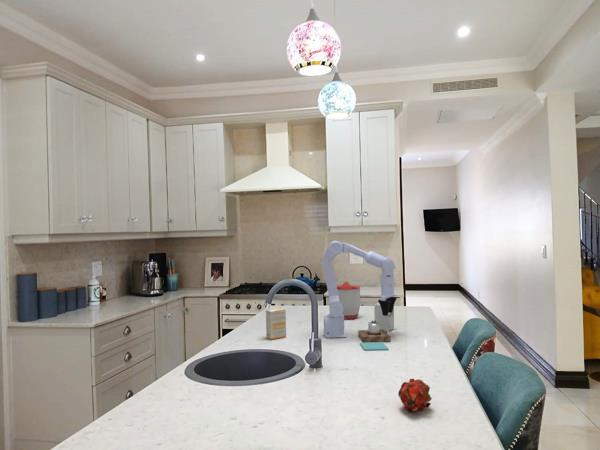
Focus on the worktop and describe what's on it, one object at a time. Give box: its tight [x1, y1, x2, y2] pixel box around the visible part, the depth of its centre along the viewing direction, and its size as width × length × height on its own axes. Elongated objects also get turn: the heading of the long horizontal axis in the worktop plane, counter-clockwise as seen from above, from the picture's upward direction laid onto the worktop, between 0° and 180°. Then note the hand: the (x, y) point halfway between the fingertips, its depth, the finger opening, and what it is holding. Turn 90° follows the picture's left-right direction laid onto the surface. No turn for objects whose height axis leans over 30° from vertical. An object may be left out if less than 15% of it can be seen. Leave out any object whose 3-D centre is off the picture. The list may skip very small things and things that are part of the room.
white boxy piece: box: [373, 302, 395, 333], centre depth 211 cm, size 7×7×13 cm
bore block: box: [357, 329, 392, 343], centre depth 193 cm, size 12×12×2 cm
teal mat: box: [359, 342, 389, 352], centre depth 180 cm, size 10×10×1 cm
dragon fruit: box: [398, 378, 432, 413], centre depth 119 cm, size 8×8×12 cm
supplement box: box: [265, 307, 287, 341], centre depth 197 cm, size 8×5×13 cm, turn 124°
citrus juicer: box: [336, 281, 361, 320], centre depth 239 cm, size 16×17×20 cm
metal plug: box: [367, 320, 379, 335], centre depth 193 cm, size 5×5×8 cm
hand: (387, 314), depth 198 cm, fingers open, 7 cm apart
